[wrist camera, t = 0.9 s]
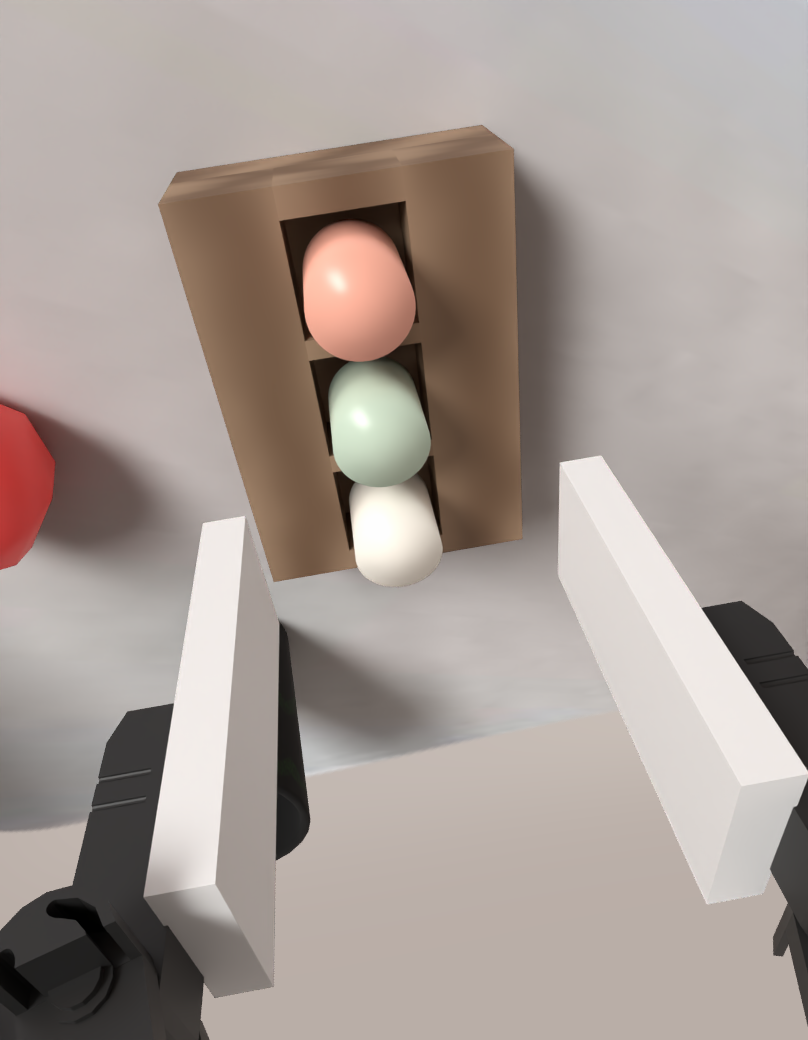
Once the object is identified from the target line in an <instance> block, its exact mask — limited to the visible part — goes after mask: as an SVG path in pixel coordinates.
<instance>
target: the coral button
mask: <svg viewBox="0 0 808 1040" xmlns="http://www.w3.org/2000/svg"><path fill="white" fill-rule="evenodd" d="M303 293H304V313H305V319H306V323H307V326H308V328H309V331H310V333H311V334H312V336H313V338H314V339H315V340H316V342H317V343H318V344H319V345H320V346H321V347H322V348H323V349H324V350H326V351H327V352H328V353H330V354H332V355H334V356H336V357H338V358H341V359H344V360H348V361H354V362H364V361H371V360H375V359H378V358H381V357H383V356H385V355H387V354H389V353H390V352H392V351H393V350H395V349H396V348H397V347H398V346H399V345H400V344H401V343H402V342H403V341H404V339H405V338H406V337H407V335H408V333H409V331H410V330H411V327H412V325H413V322H414V317H415V310H416V303H415V296H414V292H413V289H412V286H411V283H410V281H409V278H408V276H407V273H406V271H405V268H404V266H403V263H402V261H401V258H400V256H399V253H398V251H397V248H396V246H395V244H394V243H393V241H392V240H391V238H390V237H389V236H388V235H387V233H386V232H384V231H383V230H382V229H381V228H379V227H378V226H376V225H375V224H373V223H371V222H368V221H365V220H360V219H342V220H338V221H335V222H332V223H330V224H328V225H327V226H325V227H323V228H322V229H321V230H320V231H318V232H317V233H316V234H315V236H314V237H313V238H312V239H311V241H310V243H309V244H308V246H307V249H306V251H305V254H304V258H303Z"/></svg>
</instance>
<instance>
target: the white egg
mask: <svg viewBox="0 0 808 1040" xmlns="http://www.w3.org/2000/svg"><path fill="white" fill-rule="evenodd" d="M349 505H350V514H351V523H352V532H353V540H354V549H355V558H356V563H357V566H358V568H359V570H360V572H361V573H362V574H363V575H364V576H365V577H366V578H367V579H368V580H370V581H372V582H374V583H376V584H379V585H382V586H387V587H402V586H408V585H411V584H414V583H417V582H419V581H421V580H423V579H425V578H426V577H427V576H429V575H430V574H431V573H432V572H433V571H434V570H435V569H436V567H437V566H438V564H439V562H440V560H441V557H442V552H443V547H442V542H441V538H440V534H439V531H438V527H437V523H436V520H435V516H434V512H433V508H432V505H431V501H430V497H429V494H428V490H427V487H426V484H425V482H424V480H423V479H422V478H421V476H419V475H418V474H417V473H416V474H415V475H413V476H412V477H411V478H409V479H408V480H406V481H404V482H402V483H399V484H396V485H393V486H388V487H370V486H365V485H362V484H359V483H357V482H355V483H354V485H353V486H352V488H351V491H350V495H349Z"/></svg>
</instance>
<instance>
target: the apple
mask: <svg viewBox="0 0 808 1040" xmlns="http://www.w3.org/2000/svg"><path fill="white" fill-rule="evenodd" d="M54 472H55V461H54V459H53V457H52V456H51V454H50V453H49V451H48V449H47V448H46V446H45V445H44V443H43V442H42V440H41V438H40V437H39V435H38V434H37V432H36V431H35V429H34V427H33V426H32V424H31V423H30V421H29V420H28V418H27V416H26V415H25V414H24V413H21V412H19V411H16V410H14V409H11V408H9V407H6V406H4V405H1V404H0V570H1V569H4V568H8V567H11V566H14V565H17V564H18V562H19V561H20V560H21V559H22V558H23V557H24V556H25V555H26V553H27V552H28V551H29V550H30V549H31V548H32V546H33V544H34V541H35V539H36V536H37V534H38V532H39V529H40V527H41V524H42V522H43V520H44V517H45V515H46V512H47V510H48V508H49V505H50V503H51V500H52V498H53V485H54Z"/></svg>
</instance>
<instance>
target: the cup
mask: <svg viewBox="0 0 808 1040" xmlns="http://www.w3.org/2000/svg"><path fill="white" fill-rule="evenodd" d="M309 825H310V814H309V806H308V798H307V789H306V781H305V773H304V765H303V757H302V749H301V741H300V733H299V724H298V716H297V708H296V700H295V692H294V684H293V676H292V668H291V660H290V652H289V643H288V638H287V633H286V631H285V629H284V628H283V626H282V625H281V624H280V623H279V678H278V742H277V806H276V860H278V859H280V858H281V857H283V856H285V855H287V854H288V853H290V852H291V851H292V850H293V849H294V848H296V847H297V846H298V845H299V844H300V843H301V842H302V841H303V839H304V838H305V836H306V834H307V833H308V830H309Z"/></svg>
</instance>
